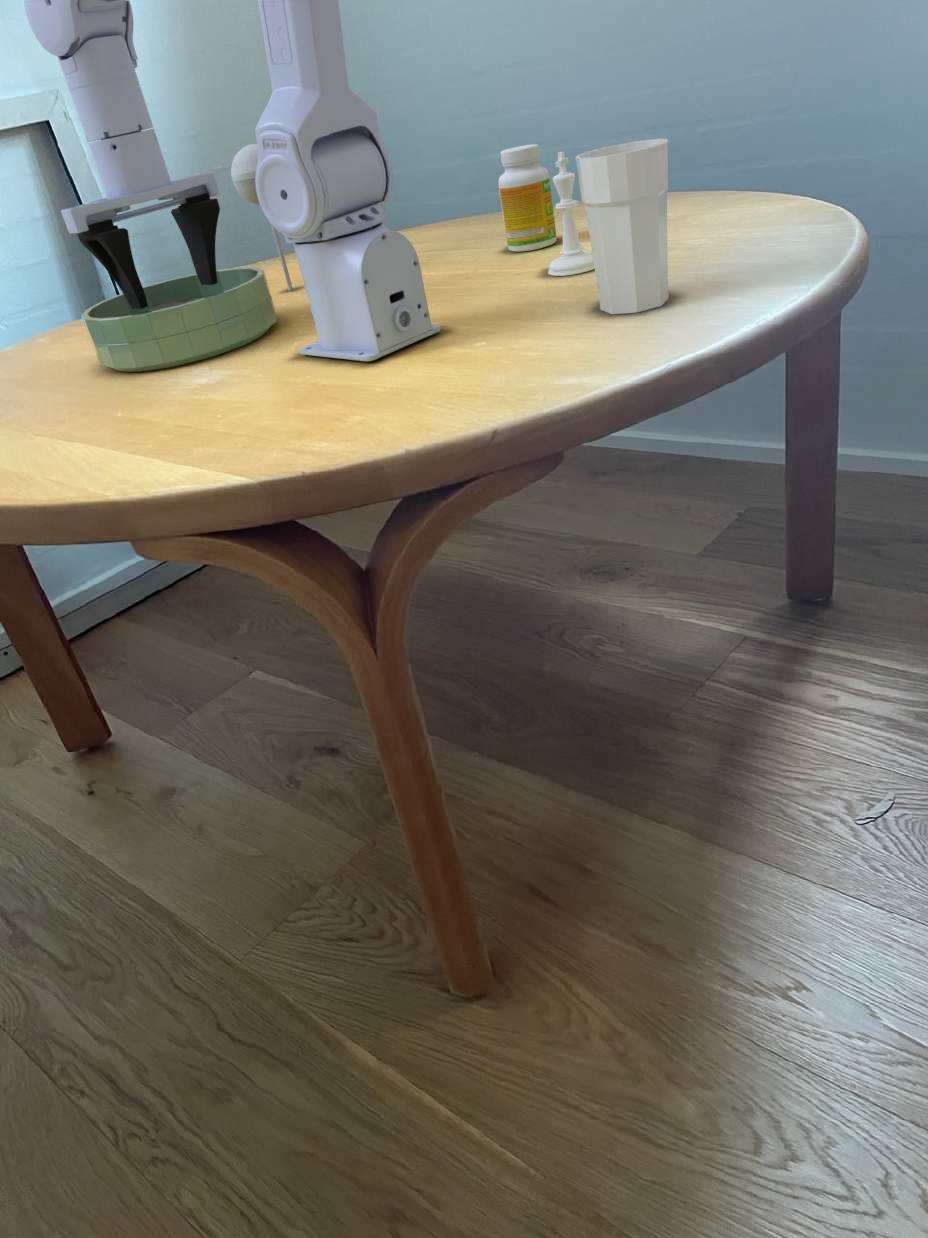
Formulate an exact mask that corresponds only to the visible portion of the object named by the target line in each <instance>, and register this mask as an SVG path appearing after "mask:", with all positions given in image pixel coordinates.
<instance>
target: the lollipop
mask: <svg viewBox="0 0 928 1238" xmlns="http://www.w3.org/2000/svg"><path fill="white" fill-rule="evenodd" d="M257 163H258V146H257V143H250V144H248V145H245V146H243V147H242V148H241V149H240V150H238V152H237V153H236V155H234V158H233V160H232V162H231V167H230V168H231V169H230V177H231V182H232V184H233V186H234V188H235V190H236V191H237V193H238V194H239V195H240V196H241V197H242V198H243V199H244V200H245V201H247V202H249V203H250V204H254V205H256V206H257V205H259V206H261V205H260V203H259V200H258V196H257V191H256V183H255V177H256V169H257ZM270 226H271V230H272V234H273V237H274V241H275V244H276V249H277V252H278V255H279V259H280V262H281V267H282V270H283V274H284V277H285V280H286V284H287V288H288V291H289V292H292V291H294V288H293V284H292V281H291V277H290V273H289V270H288V266H287V262H286V258H285V255H284V251H283V247H282V244H281V240H280V235H279V232H278V230H277V229H275V228H274V227H273V225H272V224H271V223H270Z"/></svg>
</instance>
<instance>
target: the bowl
mask: <svg viewBox="0 0 928 1238" xmlns="http://www.w3.org/2000/svg"><path fill="white" fill-rule="evenodd" d="M216 272H217V281H218V283H217V284H214V285H201V282H200V280H199V278H198V276H197V273H193V274H188V275H185V276H179V277H176V278H171V279H167V280H164V281H160V282H156V283H153V284H148V285H145V286H142V287H143V290H144V293H145V295H146V299H147V304H148V307H146V308H143V309H134V308H131V306H130V304H129V302H128V300H127V299H126V297H125V295H124V294H123V293H120V294H118V295H115V296H113V297H109V298H107V299H104V300H101V301H100V302H98V303H96V304H93V305H92V306H90V307H87V308H86V310H84V312H83V313H82V314H81V315H80V317H81V320H82V322H83V323H84V327H85V329H86V331H87V334H88V337H89V339H90V342H91V344H92V347H93V350H94V352H95V355H96V357H97V360H98V362H99V364H101V366H102V367H104V368H105V367H106V368H109V369H110V368H111V369H113V370H115V371H118V372H125V373H126V372H127V373H136V372H148V371H156V370H163V369H168V368H174V367H178V366H183V365H187V364H192V363H196V362H199V361H202V360H207V359H209V358H213V357H216V356H219V355H222V354H225V353H228V352H230V351H233V350H236V349H238V348H241V347H243V346H245V345H248V344H249V343H252V342H253V341H255V340H257V339H258V338H259V339H260V337H262V336H264V335H265V334H266V333H267V332H268V331H269V330H270V328H271V326H273V325H274V324H276V322H277V312H276V308H275V305H274V301H273V298H272V295H271V290H270V287H269V284H268V280H267V276H266V274H265V269H262V268H260V267H257V266H256V267H255V266H253V267H252V266H245V267H244V266H239V267H231V268H223V269H221V268H220V269H216ZM169 302H187V303H186V304H182V305H178V306H174V307H170V308H165V309H161V310H157V311H152V312H147V313H146V310H148V309H151V308H154V307H157V306H160V305H163V304H166V303H169Z"/></svg>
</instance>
